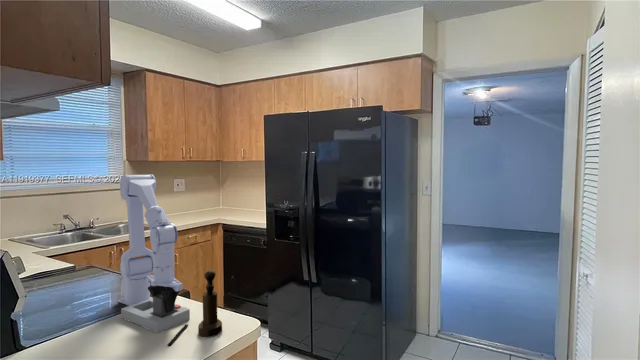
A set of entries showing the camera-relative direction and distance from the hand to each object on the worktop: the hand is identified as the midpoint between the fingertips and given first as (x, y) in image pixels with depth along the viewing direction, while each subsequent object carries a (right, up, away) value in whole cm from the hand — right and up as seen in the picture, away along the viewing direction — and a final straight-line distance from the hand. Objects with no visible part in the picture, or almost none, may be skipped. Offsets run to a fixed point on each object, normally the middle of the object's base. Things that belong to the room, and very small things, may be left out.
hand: (164, 309), depth 108 cm
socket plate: (-4, -4, +3) cm, 6 cm away
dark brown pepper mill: (+16, -4, -6) cm, 17 cm away
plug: (0, -3, 0) cm, 3 cm away
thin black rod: (+7, -5, -8) cm, 12 cm away
